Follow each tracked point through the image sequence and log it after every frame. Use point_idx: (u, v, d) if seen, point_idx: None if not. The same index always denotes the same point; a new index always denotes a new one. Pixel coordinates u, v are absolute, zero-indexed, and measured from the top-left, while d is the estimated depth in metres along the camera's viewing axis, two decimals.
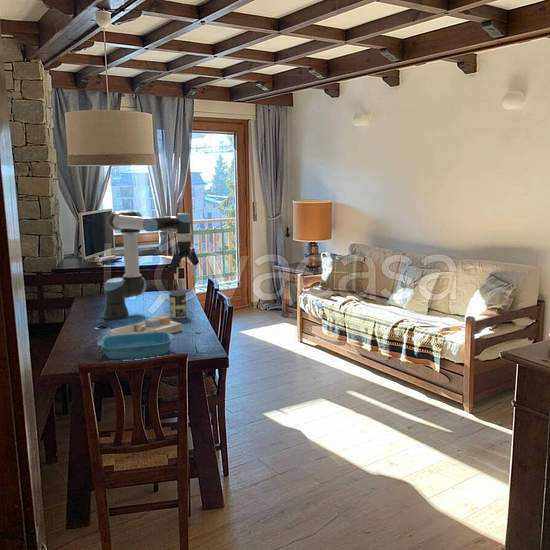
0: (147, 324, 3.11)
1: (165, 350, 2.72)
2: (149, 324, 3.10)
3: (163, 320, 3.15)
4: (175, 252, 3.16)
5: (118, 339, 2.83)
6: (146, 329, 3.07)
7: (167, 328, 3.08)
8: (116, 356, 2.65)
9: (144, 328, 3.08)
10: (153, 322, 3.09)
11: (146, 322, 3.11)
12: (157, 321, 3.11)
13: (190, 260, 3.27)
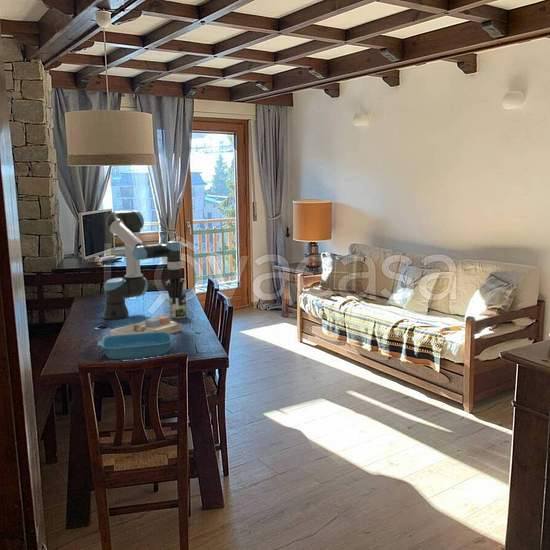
0: (147, 324, 3.11)
1: (165, 350, 2.72)
2: (149, 324, 3.10)
3: (163, 320, 3.15)
4: (167, 284, 3.18)
5: (118, 339, 2.83)
6: (146, 329, 3.07)
7: (167, 328, 3.08)
8: (116, 356, 2.65)
9: (144, 328, 3.08)
10: (153, 322, 3.09)
11: (146, 322, 3.11)
12: (157, 321, 3.11)
13: None
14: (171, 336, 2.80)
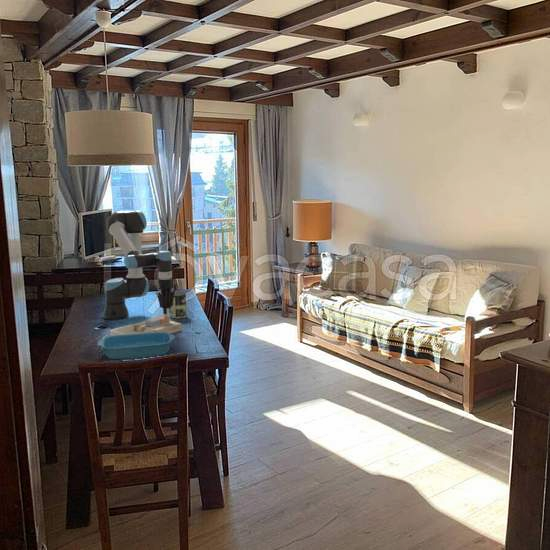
0: (147, 324, 3.11)
1: (165, 350, 2.71)
2: (149, 324, 3.10)
3: (162, 320, 3.14)
4: (158, 294, 3.13)
5: (118, 339, 2.83)
6: (146, 329, 3.07)
7: (167, 328, 3.08)
8: (116, 356, 2.65)
9: (144, 328, 3.08)
10: (153, 322, 3.09)
11: (146, 322, 3.11)
12: (157, 321, 3.11)
13: None
14: (171, 336, 2.79)
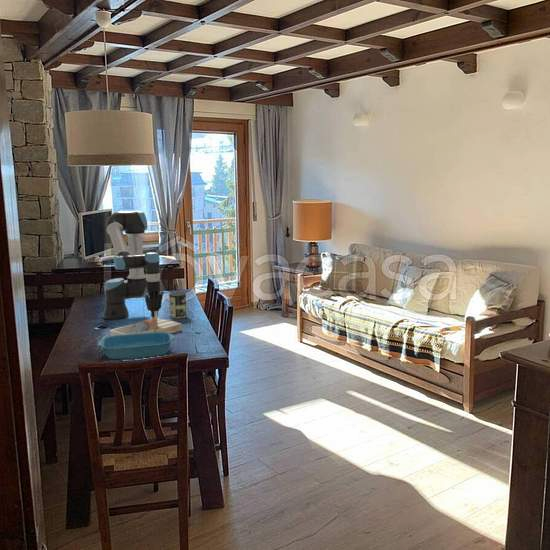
0: None
1: (165, 350, 2.71)
2: None
3: (150, 323, 3.07)
4: (145, 297, 3.06)
5: (119, 339, 2.83)
6: (146, 329, 3.07)
7: (167, 328, 3.08)
8: (116, 356, 2.65)
9: None
10: None
11: (135, 332, 3.05)
12: (143, 327, 3.04)
13: None
14: (171, 336, 2.79)
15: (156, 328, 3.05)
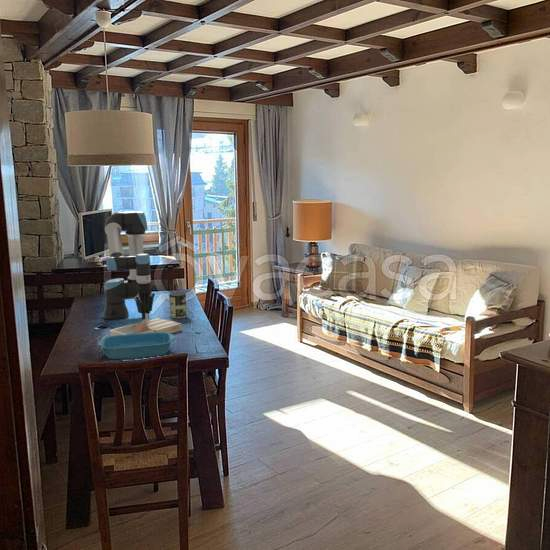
0: None
1: (165, 350, 2.71)
2: None
3: None
4: (135, 299, 3.02)
5: (119, 339, 2.83)
6: None
7: (167, 328, 3.08)
8: (115, 356, 2.65)
9: None
10: None
11: None
12: None
13: None
14: (171, 336, 2.79)
15: (156, 328, 3.05)
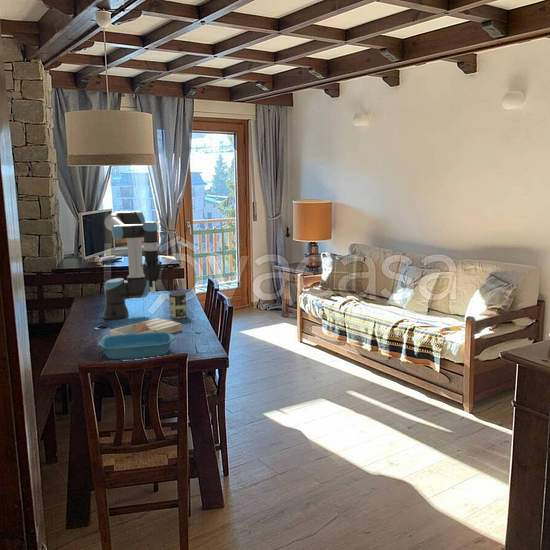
0: None
1: (165, 351, 2.71)
2: None
3: None
4: (143, 266, 3.03)
5: (119, 339, 2.83)
6: None
7: (167, 328, 3.08)
8: (115, 356, 2.65)
9: None
10: None
11: None
12: None
13: None
14: (171, 336, 2.79)
15: (156, 328, 3.05)
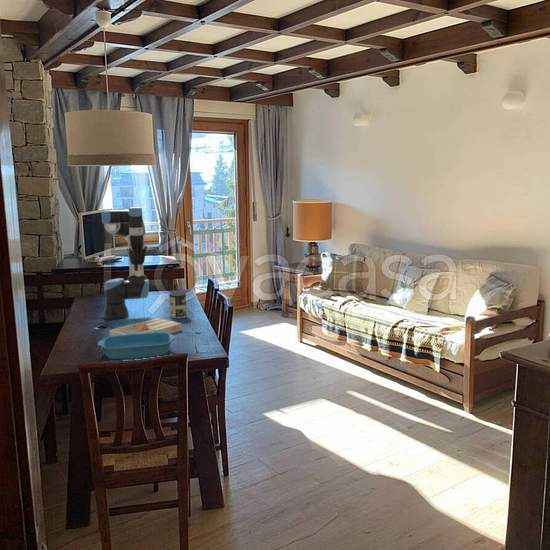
0: None
1: (165, 351, 2.71)
2: None
3: None
4: (128, 250, 3.14)
5: (119, 339, 2.83)
6: None
7: (167, 328, 3.08)
8: (116, 356, 2.65)
9: None
10: None
11: None
12: None
13: None
14: (171, 336, 2.79)
15: (156, 328, 3.05)
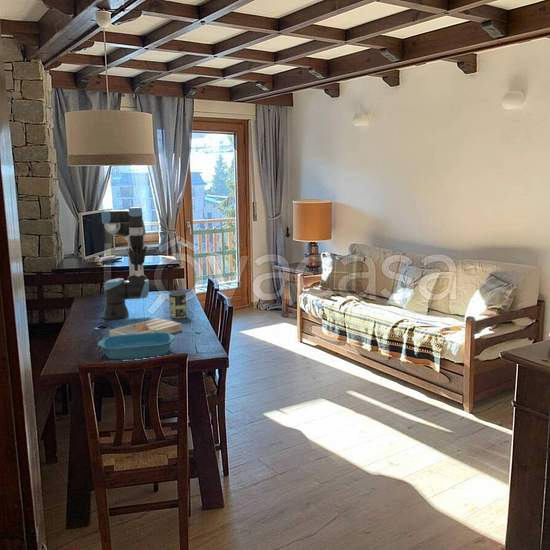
0: None
1: (165, 351, 2.71)
2: None
3: None
4: (128, 250, 3.14)
5: (119, 339, 2.83)
6: None
7: (167, 328, 3.08)
8: (116, 356, 2.65)
9: None
10: None
11: None
12: None
13: None
14: (171, 336, 2.79)
15: (156, 328, 3.05)
